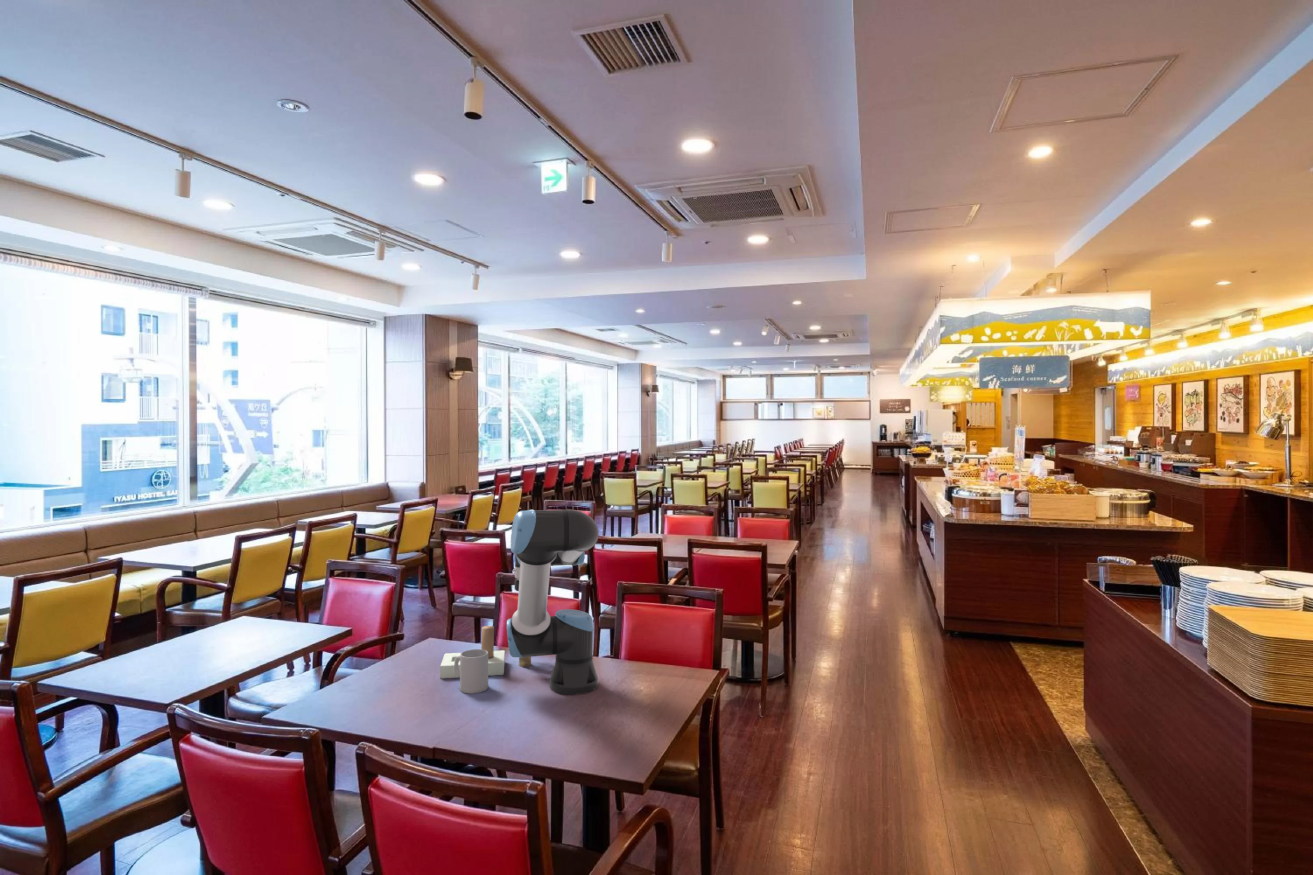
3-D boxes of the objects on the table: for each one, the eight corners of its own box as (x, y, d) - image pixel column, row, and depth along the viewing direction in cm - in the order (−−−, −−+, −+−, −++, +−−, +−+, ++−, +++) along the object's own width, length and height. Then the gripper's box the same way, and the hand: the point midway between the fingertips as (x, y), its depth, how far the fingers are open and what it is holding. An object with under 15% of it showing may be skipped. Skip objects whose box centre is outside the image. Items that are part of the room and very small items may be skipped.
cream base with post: (504, 661, 232) (504, 621, 232) (503, 674, 219) (503, 631, 219) (444, 665, 228) (445, 624, 228) (440, 678, 215) (440, 635, 215)
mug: (493, 686, 209) (494, 651, 209) (475, 695, 201) (475, 659, 201) (464, 680, 214) (464, 645, 214) (445, 688, 206) (445, 653, 206)
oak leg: (531, 662, 231) (531, 622, 231) (531, 666, 227) (531, 625, 227) (519, 663, 230) (519, 622, 231) (518, 667, 226) (519, 625, 227)
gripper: (515, 571, 241) (514, 629, 241) (514, 586, 216) (513, 651, 216) (536, 570, 242) (535, 628, 242) (537, 586, 218) (537, 650, 218)
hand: (525, 639), depth 229 cm, fingers open, 13 cm apart
